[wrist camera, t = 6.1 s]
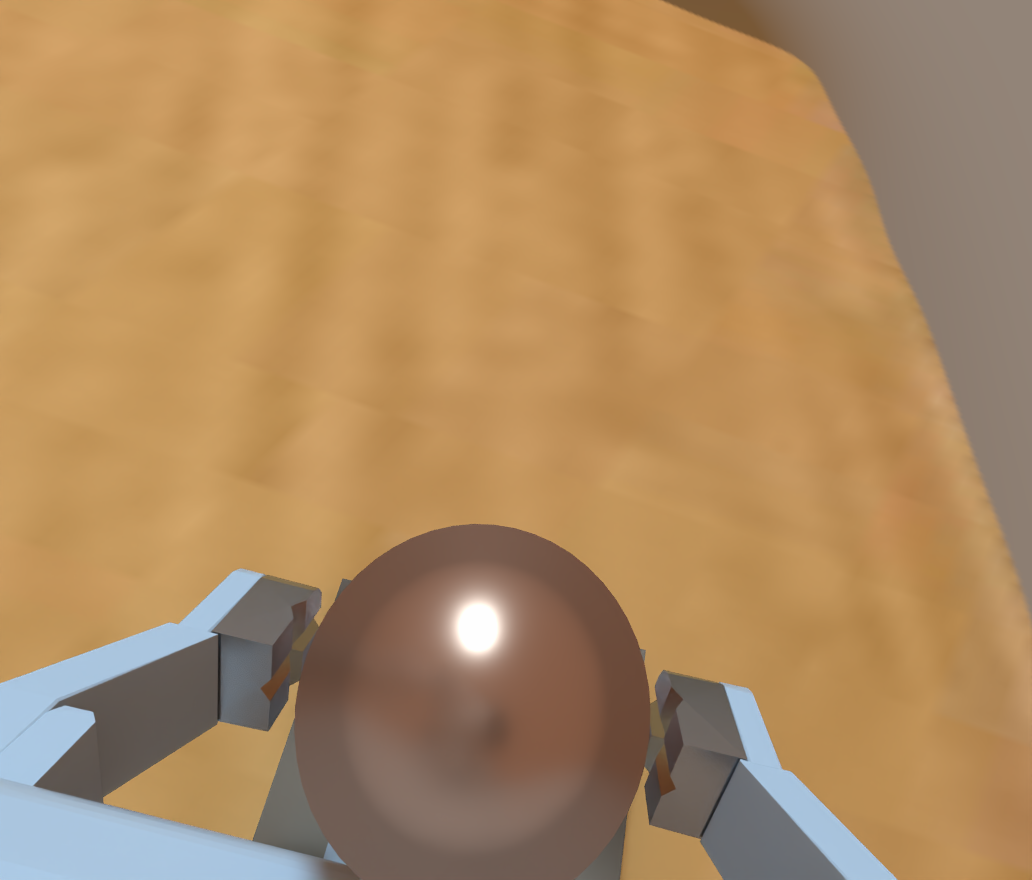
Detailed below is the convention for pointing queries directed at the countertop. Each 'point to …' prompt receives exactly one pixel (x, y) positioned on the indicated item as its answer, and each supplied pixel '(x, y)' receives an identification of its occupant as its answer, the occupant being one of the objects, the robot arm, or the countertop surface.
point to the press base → (299, 831)
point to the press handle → (472, 712)
